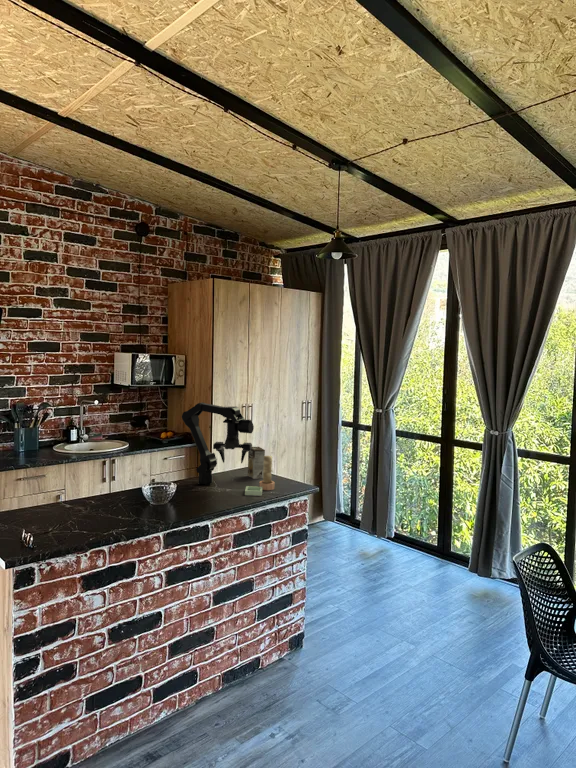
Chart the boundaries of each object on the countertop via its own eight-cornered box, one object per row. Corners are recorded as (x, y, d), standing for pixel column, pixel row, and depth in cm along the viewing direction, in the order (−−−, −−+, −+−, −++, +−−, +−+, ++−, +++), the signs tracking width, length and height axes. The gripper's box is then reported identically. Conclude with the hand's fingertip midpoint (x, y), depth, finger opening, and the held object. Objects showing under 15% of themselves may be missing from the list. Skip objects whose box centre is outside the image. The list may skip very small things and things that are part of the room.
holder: (259, 490, 266) (259, 483, 265) (259, 486, 273) (260, 479, 273) (274, 491, 266) (274, 484, 265) (274, 487, 273) (274, 480, 273)
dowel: (262, 488, 268) (263, 457, 266) (263, 486, 272) (264, 455, 270) (270, 489, 268) (271, 457, 266) (271, 487, 272) (272, 455, 270)
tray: (244, 496, 256) (245, 490, 256) (246, 491, 264) (246, 486, 264) (261, 496, 256) (261, 491, 256) (262, 491, 264) (262, 486, 264)
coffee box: (247, 475, 294) (247, 446, 293) (258, 474, 297) (258, 446, 296) (253, 479, 286) (254, 450, 285) (264, 479, 289) (265, 449, 287)
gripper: (210, 434, 260) (210, 465, 262) (248, 435, 258) (248, 467, 259) (216, 430, 272) (216, 460, 273) (252, 431, 269) (252, 462, 271)
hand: (232, 462), depth 269 cm, fingers open, 9 cm apart
